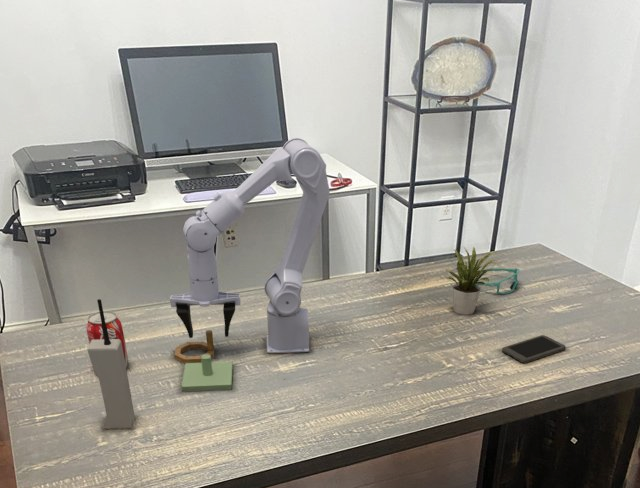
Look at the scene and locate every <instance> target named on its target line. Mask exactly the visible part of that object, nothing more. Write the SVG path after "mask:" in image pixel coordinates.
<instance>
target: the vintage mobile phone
mask: <svg viewBox="0 0 640 488" xmlns="http://www.w3.org/2000/svg"><path fill="white" fill-rule="evenodd" d="M97 306H98V310H99V311H98V312H100V317H101V322H102V331H103V336H104V339H100V340H91V342H90V344H89V343H88V346H87V349H86V351H87V353H88V357H89V359H90V363H91V367H92V369H93V372H94V375H95V376H96V377H97V378H98V380H99V385H100V391H101V395H102V399H103V404H104V409H105V414H106V415H105V417H104V421H103V423H102V426H103V429H105V430H119V429H120V430H122V429H123V430H124V429H132V427H133V423H134V421H135V418H136V415H135V410H134V404H133V398H132V394H131V393H132V392H131V388H130V382H129V376H128V371H127V367H126V365H125V359H124V354H123V348H122V343H121V340H120V339H109V335H108V330H107V326H106V323H105V318H104V313H103V311H104V308H103V303H102V299H100V298H98V299H97Z"/></svg>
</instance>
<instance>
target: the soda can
mask: <svg viewBox="0 0 640 488" xmlns="http://www.w3.org/2000/svg"><path fill="white" fill-rule="evenodd" d="M103 313H104V318H105V323H106V326H107V330H108V335H109V339H120V340H121V343H122V348H123V354H124V359H125V365H126V368H127V367H128V365H129V358H128V357H129V355H128V351H127V345H126V339H125V335H124V329H123V326H122V321H121V320H120V319H119V318H118V314H117V313H115V312H113V311H109V310H103ZM85 328H86V335H87V341H88V345H89V344H90V342H91V340H100V339H104V336H103V331H102V322H101V317H100V312H99V311H97V312H94V313H91V314H89V315H88V316H87V323H86V326H85Z"/></svg>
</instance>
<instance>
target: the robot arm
mask: <svg viewBox="0 0 640 488" xmlns="http://www.w3.org/2000/svg"><path fill="white" fill-rule="evenodd" d="M292 175H293V176H294V177H295V179H296V182H297V183H298V185H299V187H300V188H301V191H302V195H301V198H300V201H299V204H298V207H297V211H296V213H295V216H294V220H293V223H292V226H291V228H290V230H289V231H290V232H289V235H288V237H287V241H286V244H285V247H284V250H283V253H282V256H281V259H280V262H279V264H277V265H276V266H275V267H274V270H273V272H272V274H271V275H270V276H269V277H268V279H267V280H265V283H264V292H265V294H266V296H267V297H268V300H269V301H268V304H267V306H266V320H267V321H266V322H267V336H266V353H267V354H288V353H291V354H293V353H309V352H310V340H311V332H310V317H309V308H306V307H301V305H302V297H301V296H302V295H301V292H302V290H303V271H304V270H305V266H306V264H307V261H308V258H309V255H310V252H311V250H312V246H313V244H314V240H315V237H316V234H317V232H318V229H319V226H320V223H321V221H322V217H323V215H324V212H325V209H326V206H327V203H328V200H329V198H330V192H331V191H330V185H329V181H328V176H327V163H326V162H325V160H324V159H323V157H322V156H321V154H320V153H319V151H318V150H317V149H316V148H315V147H312V146H311V145H309V144H308V142H307V141H306V140H304V139H302V138H299V137H294V138H291V139H288V140H287V141H286V142H285V143H284V144H283V146H280V147H278V148H276V149H275V150H274V151H273V153H272V154H270V156H269V157H268V158H267V159H266V160H265V161H263V162H262V163H261V165H259V167H258V168H256V169H255V170H254V171H253V172H252V173H251V174H250V175H249V176H248V177H247V178H246V179H245V180H244V181H243V182H241V184H239V186H238V187H237V188H235V189H234V190H232V191H229V190H224V191H223V192H221V193H219V192H216V193H215V194H214V195H213V200H212V201H211V202H210V203H208V205H206V206H205V207H204V208H203V209H202V210H200V209H199V210H197V211H196V212H195V216H194V215H193V216H190V217H189V218H187V219H186V220H185V222H184V224H183V225H184V226H183V229H182V233H183V236H184V238H185V241H186V252H187V254H186V255H187V256H186V259H187V269H188V277H189V285H190V286H189V287H190V292H187V293H180V294H171V295H170V297H169V304H170V308H176V310H175V312H176V315H177V316H178V317H179V319H180V320H181V321H182V323H183V325H184V327H185V329H186V331H187V335H188V338H189V339H193V337H194V327H193V322H192V316H191V306H199V307H210V306H220V305H221V306H223V308H222V309H223V311H222V312H223V320H224V321H223V322H224V338H228V337H229V336H230V335H229V333H230V332H229V331H230V325H231V322H232V319H233V317H234V315H235V311H236V306H237V307H238V306H241V293H232V292H223V291H219V281H218V280H219V279H218V270H217V259H216V253H215V245H216V242H217V238H218V236H221V234H223V233H224V232H226V230H227V229H228V228H230V227H231V226H232V225H233V224H235V223H236V222H237V221H238V220H239V219H240V218H241V217H242V216H244V214H245V206H246V205H247V204H248V203H249V202H251V201H252V200H254V198H256V197H257V196H259V195H260V194H261V193H263V192H264V191H265V190H267V188H269V187H270V186H271V185H273V184H274V183H275V182H291V181H292V182H293V177H292Z"/></svg>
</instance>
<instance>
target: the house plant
mask: <svg viewBox="0 0 640 488" xmlns="http://www.w3.org/2000/svg"><path fill="white" fill-rule="evenodd" d="M464 250H465V252H466V255H467V262H465V261H464V259H463V256H462V255H461V254H460V253H459V252H458V250H457V249H454V248H453V251H454V253H455V255H456V258H457V262H456V265H455V263H453V261H452V260H451V259H449V258H448V257H444V258H445V259H448V261H450V262H451V263H452V264H453V265H454V266H456V267H455V269H456V270H457V273H455V272H453V271H452V270H449V269H446V271H447V272H449V273H450V275H451V276H446V277H445V279H448V280H450V281H453V282H454V284H453V285H452V298H453V300H452V302H453V311H454V313H456V314H458V315H464V316H465V315H466V316H467V315H472V314H474V313H475V309H476V307H477V304H478V300H479V296H480V294H481V290H482V288H481V287H480V285H476V284H483V285H482V286H485V287H487V286H486V285H485V283H486V282H487V283H490V279H489V278H488V277H483V276H484V275H485V274H486V273H488V272H490V271H489V270H492V269H490V268H487V269H488V270H485V269H486V267H487V266H488V265H490V264H500V262H498V261H496V259H492V260H489V261H488V262H486V263H485V264H484V265H483V263H484V262H485V261H486V260H487V259H488V258H489V257H490V256H491V255H494V254H496V253H497V251H492V252H489V253H487V254H485V255H484V256H483V257H481V258H479V259H477V252H476V248H475V247H472V251H471V256H470V253H469V251H468V250H467V249H466V248H464ZM480 268H481V269H480ZM483 270H485V271H484V272H483ZM481 272H482V273H481ZM452 276H453V277H452ZM484 281H486V282H484Z"/></svg>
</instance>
